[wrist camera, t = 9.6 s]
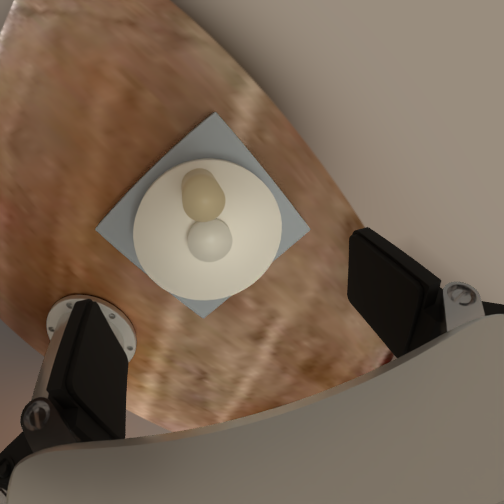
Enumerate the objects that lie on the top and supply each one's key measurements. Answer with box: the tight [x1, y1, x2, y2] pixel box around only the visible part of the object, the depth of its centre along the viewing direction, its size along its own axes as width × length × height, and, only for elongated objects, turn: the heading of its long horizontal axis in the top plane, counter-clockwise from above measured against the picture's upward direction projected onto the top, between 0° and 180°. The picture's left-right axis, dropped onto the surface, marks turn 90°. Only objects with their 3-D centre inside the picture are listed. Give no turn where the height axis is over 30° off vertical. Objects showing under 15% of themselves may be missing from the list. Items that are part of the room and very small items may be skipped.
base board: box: [95, 112, 310, 318], centre depth 29 cm, size 16×16×2 cm
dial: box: [133, 158, 282, 300], centre depth 25 cm, size 14×14×7 cm
